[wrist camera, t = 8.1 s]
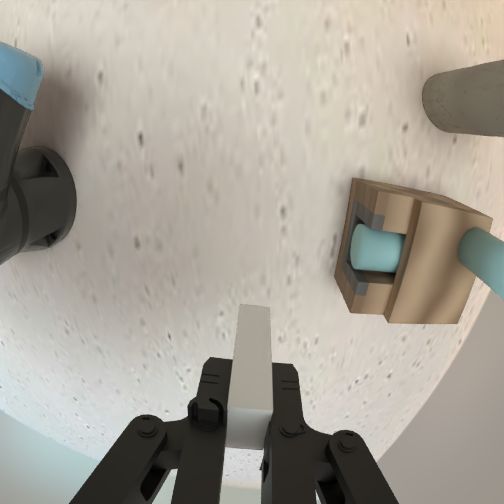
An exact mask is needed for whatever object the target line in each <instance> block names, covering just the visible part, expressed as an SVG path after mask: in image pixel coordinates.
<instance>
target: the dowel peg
mask: <svg viewBox="0 0 504 504" xmlns="http://www.w3.org/2000/svg"><path fill="white" fill-rule="evenodd" d="M405 239H406V234H402V233H395V232H388V231H381V230H374V229H370V228H369V227H368V226H367V225H366V224H358V225H357V226H356V228H355V230H354V233H353V236H352V241H351V251H350V255H351V263H352V266H353V268H354V269H360V270H371V271H381V272H392V273H396V272H397V269H398V265H399V262H400V258H401V254H402V250H403V247H404V243H405Z"/></svg>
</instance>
